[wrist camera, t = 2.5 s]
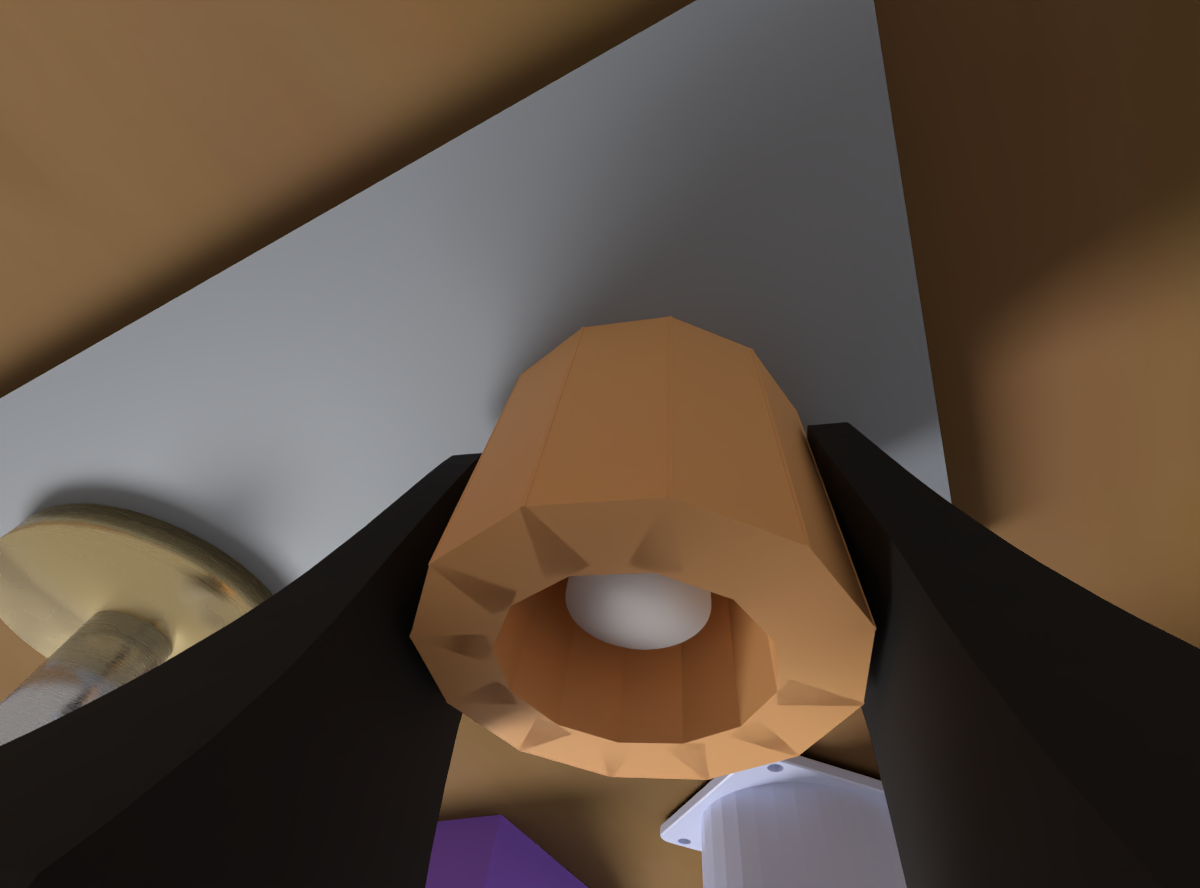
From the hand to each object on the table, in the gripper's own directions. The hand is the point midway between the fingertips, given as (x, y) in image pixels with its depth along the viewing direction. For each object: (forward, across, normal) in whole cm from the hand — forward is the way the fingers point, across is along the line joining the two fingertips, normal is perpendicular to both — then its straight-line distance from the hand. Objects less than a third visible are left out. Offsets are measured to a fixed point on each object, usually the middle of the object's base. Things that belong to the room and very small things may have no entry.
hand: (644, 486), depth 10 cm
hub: (+1, +14, +4) cm, 14 cm away
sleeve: (+1, 0, 0) cm, 1 cm away
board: (+2, +7, +2) cm, 7 cm away
